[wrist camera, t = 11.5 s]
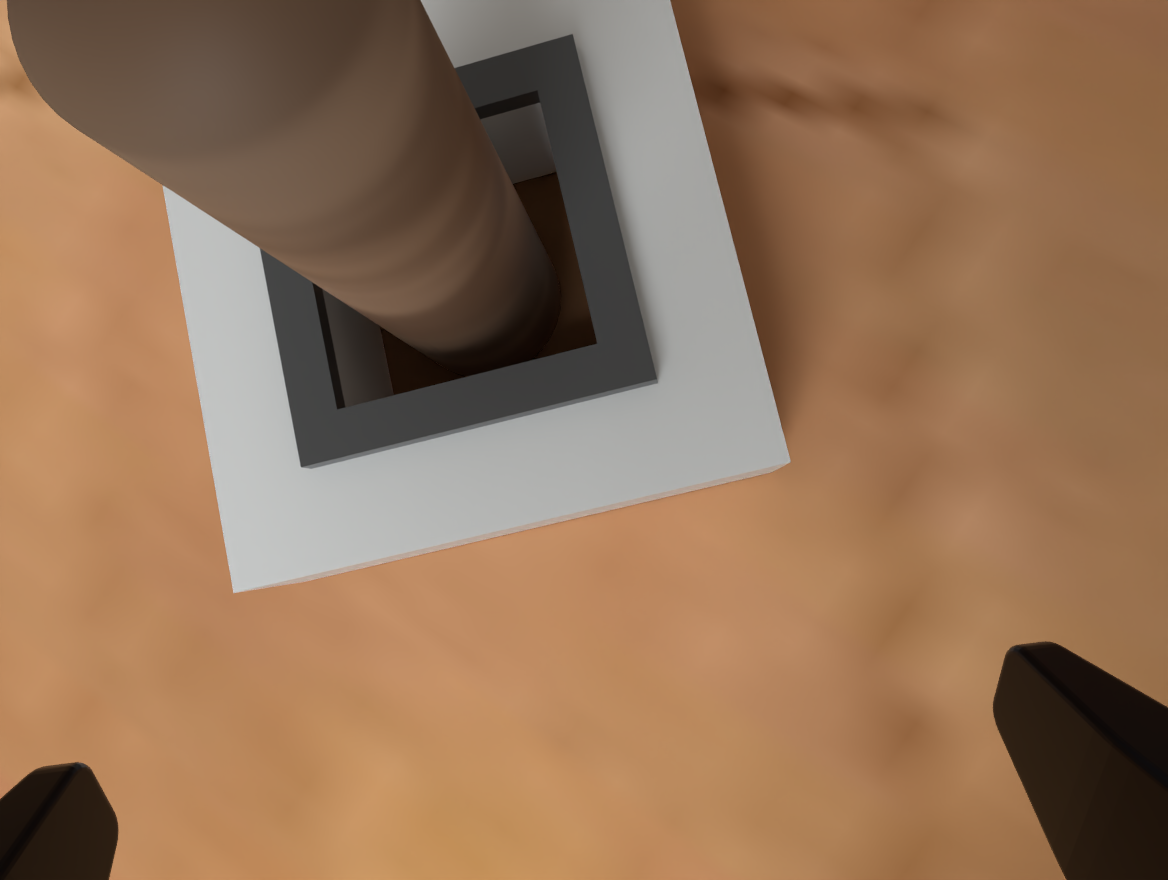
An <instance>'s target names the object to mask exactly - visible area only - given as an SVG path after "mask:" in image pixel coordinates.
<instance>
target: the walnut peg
mask: <svg viewBox="0 0 1168 880" xmlns="http://www.w3.org/2000/svg"><path fill="white" fill-rule="evenodd" d="M7 9H8V20H9V25H10V30H11V35H12V40H13V43H14V46H15V49H16V52H17V54H18V57H19V60H20V62H21V64H22V66H23V68H24V70H25V72H26V74H27V76H28V78H29V80H30V82H31V83H32V84H33V86H34V87H35V89H36V90H37V92H38V93H39V94H40V96H41V97H42V99H43V100H44V101H45V102H46V103H47V104H48V105H49V106H50V107H51V108H52V109H53V110H54V111H55V112H56V113H57V114H58V115H59V116H60V117H61V118H63V119H64V120H65V121H67V122H68V123H69V124H71V125H72V126H73V127H74V128H76V129H77V130H79V131H80V132H82V133H83V134H85V135H86V136H88V137H90V138H91V139H93V140H94V141H96V142H97V143H99V144H100V145H102V146H103V147H105V148H106V149H108V150H110V151H111V152H113V153H114V154H116V155H117V156H119V157H120V158H122V159H123V160H125V161H126V162H128V163H130V164H131V165H133V166H134V167H136V168H137V169H139V170H140V171H142V172H143V173H145V174H147V175H148V176H150V177H151V178H153V179H154V180H156V181H157V182H159V183H160V184H162V185H163V186H165V187H167V188H168V189H170V190H171V191H173V192H174V193H176V194H177V195H179V196H180V197H182V198H183V199H185V200H187V201H188V202H190V203H191V204H193V205H194V206H196V207H197V208H199V209H200V210H202V211H203V212H205V213H207V214H208V215H210V216H211V217H213V218H214V219H216V220H217V221H219V222H220V223H222V224H223V225H225V226H227V227H228V228H230V229H231V230H233V231H234V232H236V233H237V234H239V235H240V236H242V237H244V238H245V239H247V240H248V241H250V242H251V243H253V244H254V245H256V246H257V247H259V248H260V249H262V250H264V251H265V252H267V253H268V254H270V255H271V256H273V257H274V258H276V259H277V260H279V261H280V262H282V263H284V264H285V265H287V266H288V267H290V268H291V269H293V270H294V271H296V272H297V273H299V274H300V275H302V276H304V277H305V278H307V279H308V280H310V281H311V282H313V283H314V284H316V285H317V286H319V287H320V288H322V289H324V290H325V291H327V292H328V293H330V294H331V295H333V296H334V297H336V298H337V299H339V300H341V301H342V302H344V303H345V304H347V305H348V306H350V307H351V308H353V309H354V310H356V311H357V312H359V313H361V314H362V315H364V316H365V317H367V318H368V319H370V320H371V321H373V322H374V323H376V324H377V325H379V326H381V327H382V328H384V329H385V330H387V331H388V332H390V333H391V334H393V335H394V336H396V337H397V338H399V339H401V340H402V341H404V342H405V343H407V344H408V345H410V346H411V347H413V348H414V349H416V350H417V351H419V352H421V353H422V354H424V355H425V356H427V357H428V358H430V359H431V360H433V361H434V362H436V363H438V364H439V365H441V366H442V367H444V368H446V369H448V370H449V371H452V372H454V373H457V374H460V375H464V376H472V375H476V374H480V373H484V372H488V371H492V370H495V369H499V368H503V367H507V366H511V365H515V364H519V363H523V362H527V361H530V360H531V359H532V358H534V357H535V356H536V355H537V354H538V353H539V352H540V351H541V349H542V348H543V347H544V346H545V344H546V343H547V342H548V340H549V338H550V336H551V335H552V333H553V331H554V328H555V326H556V323H557V320H558V316H559V311H560V303H561V293H560V286H559V281H558V277H557V274H556V271H555V269H554V267H553V264H552V262H551V260H550V258H549V256H548V254H547V252H546V250H545V248H544V246H543V244H542V242H541V240H540V238H539V236H538V234H537V232H536V230H535V228H534V226H533V224H532V222H531V220H530V218H529V216H528V214H527V212H526V210H525V208H524V206H523V204H522V202H521V200H520V198H519V196H518V194H517V192H516V190H515V188H514V186H513V184H512V182H511V180H510V178H509V176H508V174H507V172H506V170H505V168H504V166H503V164H502V162H501V160H500V158H499V156H498V154H497V152H496V150H495V148H494V146H493V144H492V142H491V140H490V138H489V136H488V134H487V132H486V130H485V128H484V126H483V124H482V122H481V120H480V118H479V116H478V114H477V112H476V110H475V108H474V106H473V104H472V102H471V100H470V98H469V96H468V94H467V92H466V90H465V88H464V86H463V84H462V82H461V80H460V78H459V76H458V74H457V72H456V70H455V68H454V66H453V64H452V62H451V60H450V58H449V56H448V54H447V52H446V50H445V48H444V46H443V44H442V42H441V40H440V38H439V36H438V34H437V32H436V30H435V28H434V26H433V24H432V22H431V20H430V18H429V16H428V14H427V12H426V10H425V8H424V6H423V4H422V2H421V0H7Z"/></svg>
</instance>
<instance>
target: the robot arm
mask: <svg viewBox="0 0 1168 880" xmlns="http://www.w3.org/2000/svg"><path fill="white" fill-rule="evenodd" d="M993 713H994V718H995V722H996V725H997V728H998V730H999V733H1000V735H1001V737H1002V739H1003V741H1004V744H1005V746H1006V748H1007V750H1008V753H1009V755H1010V757H1011V759H1012V762H1013V764H1014V766H1015V768H1016V771H1017V773H1018V775H1019V777H1020V780H1021V782H1022V784H1023V786H1024V789H1025V791H1026V793H1027V795H1028V797H1029V800H1030V802H1031V804H1032V806H1033V809H1034V811H1035V813H1036V815H1037V818H1038V820H1039V822H1040V824H1041V827H1042V829H1043V831H1044V833H1045V836H1046V838H1047V840H1048V842H1049V844H1050V847H1051V849H1052V851H1053V853H1054V855H1055V857H1056V859H1057V861H1058V864H1059V866H1060V868H1061V870H1062V872H1063V874H1064V876H1065V878H1066V880H1168V707H1166V706H1164V705H1163V704H1161V703H1159V702H1158V701H1156V700H1154V699H1152V698H1151V697H1149V696H1147V695H1145V694H1144V693H1142V692H1140V691H1139V690H1137V689H1135V688H1133V687H1132V686H1130V685H1128V684H1126V683H1125V682H1123V681H1121V680H1119V679H1118V678H1116V677H1114V676H1113V675H1111V674H1109V673H1107V672H1106V671H1104V670H1102V669H1100V668H1099V667H1097V666H1095V665H1094V664H1092V663H1090V662H1088V661H1087V660H1085V659H1083V658H1081V657H1080V656H1078V655H1076V654H1074V653H1073V652H1071V651H1069V650H1068V649H1066V648H1064V647H1062V646H1060V645H1058V644H1056V643H1053V642H1037V643H1029V644H1021V645H1015V646H1012V647H1011V648H1010V649H1009V650H1008V651H1007V653H1006V655H1005V658H1004V662H1003V666H1002V670H1001V674H1000V677H999V681H998V685H997V689H996V693H995V697H994V701H993ZM117 841H118V822H117V817H116V814H115V812H114V810H113V808H112V807H111V805H110V803H109V801H108V799H107V797H106V795H105V794H104V792H103V790H102V788H101V786H100V784H99V782H98V781H97V779H96V777H95V775H94V773H93V771H92V770H91V769H90V767H88V766H87V765H85V764H84V763H79V762H75V763H67V764H59V765H51V766H44V767H41V768H38V769H36V770H34V771H32V772H31V773H30V774H28V775H27V776H26V777H24V778H23V779H22V780H21V781H20V782H19V783H18V784H17V785H15V786H14V787H13V788H12V789H11V790H10V791H9V792H8V793H6V794H5V795H4V796H3V797H2V798H1V799H0V880H109V877H110V873H111V868H112V864H113V859H114V855H115V850H116V846H117Z"/></svg>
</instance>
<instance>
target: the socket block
mask: <svg viewBox="0 0 1168 880" xmlns="http://www.w3.org/2000/svg"><path fill="white" fill-rule="evenodd" d="M421 2H422V4H423V6H424V8H425V10H426V12H427V14H428V16H429V18H430V20H431V22H432V24H433V26H434V28H435V30H436V32H437V34H438V36H439V38H440V40H441V42H442V44H443V46H444V48H445V50H446V52H447V54H448V56H449V58H450V60H451V62H452V64H453V66H454V68H455V70H456V72H457V74H458V76H459V78H460V80H461V82H462V84H463V86H464V88H465V90H466V92H467V94H468V96H469V98H470V100H471V102H472V104H473V106H474V108H475V110H476V112H477V114H478V116H479V118H480V120H481V122H482V124H483V126H484V128H485V130H486V132H487V134H488V136H489V138H490V140H491V142H492V144H493V146H494V148H495V150H496V152H497V154H498V156H499V158H500V160H501V162H502V164H503V166H504V168H505V170H506V172H507V174H508V176H509V178H510V180H511V182H512V184H514V183H518V182H521V181H525V180H529V179H532V178H536V177H540V176H543V175H547V174H551V173H554V172H557V175H558V180H559V184H560V188H561V192H562V196H563V201H564V205H565V209H566V213H567V218H568V222H569V226H570V230H571V234H572V239H573V243H574V247H575V251H576V256H577V260H578V264H579V268H580V273H581V277H582V281H583V285H584V289H585V294H586V298H587V302H588V306H589V311H590V315H591V319H592V323H593V327H594V332H595V336H596V340H597V344H594V345H590V346H586V347H582V348H578V349H574V350H570V351H566V352H563V353H559V354H555V355H551V356H547V357H543V358H539V359H535V360H531V361H527V362H523V363H519V364H515V365H511V366H507V367H503V368H499V369H495V370H492V371H488V372H484V373H480V374H476V375H472V376H468V377H464V378H460V379H456V380H452V381H448V382H444V383H440V384H436V385H432V386H428V387H424V388H421V389H417V390H413V391H409V392H405V393H401V394H397V395H394V393H393V388H392V383H391V379H390V374H389V369H388V364H387V359H386V354H385V349H384V344H383V339H382V334H381V329H380V326H379V325H377V324H376V323H374V322H373V321H371V320H370V319H368V318H367V317H365V316H364V315H362V314H361V313H359V312H357V311H356V310H354V309H353V308H351V307H350V306H348V305H347V304H345V303H344V302H342V301H341V300H339V299H337V298H336V297H334V296H333V295H331V294H330V293H328V292H327V291H325V290H324V289H322V288H320V287H319V286H317V285H316V284H314V283H313V282H311V281H310V280H308V279H307V278H305V277H304V276H302V275H300V274H299V273H297V272H296V271H294V270H293V269H291V268H290V267H288V266H287V265H285V264H284V263H282V262H280V261H279V260H277V259H276V258H274V257H273V256H271V255H270V254H268V253H267V252H265V251H264V250H262V249H260V248H259V247H257V246H256V245H254V244H253V243H251V242H250V241H248V240H247V239H245V238H244V237H242V236H240V235H239V234H237V233H236V232H234V231H233V230H231V229H230V228H228V227H227V226H225V225H223V224H222V223H220V222H219V221H217V220H216V219H214V218H213V217H211V216H210V215H208V214H207V213H205V212H203V211H202V210H200V209H199V208H197V207H196V206H194V205H193V204H191V203H190V202H188V201H187V200H185V199H183V198H182V197H180V196H179V195H177V194H176V193H174V192H173V191H171V190H170V189H168V188H167V187H165V186H163V191H164V196H165V202H166V208H167V213H168V219H169V225H170V231H171V236H172V242H173V248H174V254H175V259H176V265H177V271H178V277H179V282H180V288H181V294H182V300H183V305H184V311H185V317H186V323H187V328H188V334H189V340H190V345H191V351H192V357H193V363H194V368H195V374H196V380H197V386H198V391H199V397H200V403H201V409H202V414H203V420H204V426H205V432H206V437H207V443H208V449H209V455H210V460H211V466H212V472H213V477H214V483H215V489H216V495H217V500H218V506H219V512H220V518H221V523H222V529H223V535H224V541H225V546H226V552H227V558H228V564H229V569H230V575H231V581H232V587H233V592H234V593H237V592H243V591H249V590H256V589H262V588H268V587H274V586H281V585H287V584H293V583H300V582H306V581H310V580H315V579H319V578H323V577H327V576H332V575H336V574H340V573H345V572H349V571H353V570H357V569H362V568H366V567H370V566H374V565H379V564H383V563H387V562H391V561H396V560H400V559H404V558H409V557H413V556H417V555H421V554H426V553H430V552H434V551H438V550H443V549H447V548H451V547H455V546H460V545H464V544H468V543H473V542H477V541H481V540H485V539H490V538H494V537H498V536H502V535H507V534H511V533H515V532H519V531H524V530H528V529H532V528H537V527H541V526H545V525H549V524H554V523H558V522H562V521H566V520H571V519H575V518H579V517H583V516H588V515H592V514H596V513H601V512H605V511H609V510H613V509H618V508H622V507H626V506H630V505H635V504H639V503H643V502H647V501H652V500H656V499H660V498H665V497H669V496H673V495H677V494H682V493H686V492H690V491H694V490H699V489H703V488H707V487H711V486H716V485H720V484H724V483H729V482H733V481H737V480H741V479H746V478H750V477H754V476H758V475H763V474H767V473H771V472H773V471H775V470H777V469H779V468H781V467H783V466H784V465H786V464H788V463H790V462H791V461H790V457H789V453H788V449H787V445H786V442H785V438H784V434H783V430H782V426H781V423H780V419H779V415H778V411H777V407H776V403H775V400H774V396H773V392H772V388H771V384H770V380H769V377H768V373H767V369H766V365H765V361H764V358H763V354H762V350H761V346H760V342H759V338H758V335H757V331H756V327H755V323H754V319H753V316H752V312H751V308H750V304H749V300H748V296H747V293H746V289H745V285H744V281H743V277H742V273H741V270H740V266H739V262H738V258H737V254H736V251H735V247H734V243H733V239H732V235H731V231H730V228H729V224H728V220H727V216H726V212H725V209H724V205H723V201H722V197H721V193H720V189H719V186H718V182H717V178H716V174H715V170H714V166H713V163H712V159H711V155H710V151H709V147H708V144H707V140H706V136H705V132H704V128H703V124H702V121H701V117H700V113H699V109H698V105H697V101H696V98H695V94H694V90H693V86H692V82H691V79H690V75H689V71H688V67H687V63H686V59H685V56H684V52H683V48H682V44H681V40H680V37H679V33H678V29H677V25H676V21H675V17H674V14H673V10H672V6H671V2H670V0H421Z"/></svg>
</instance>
